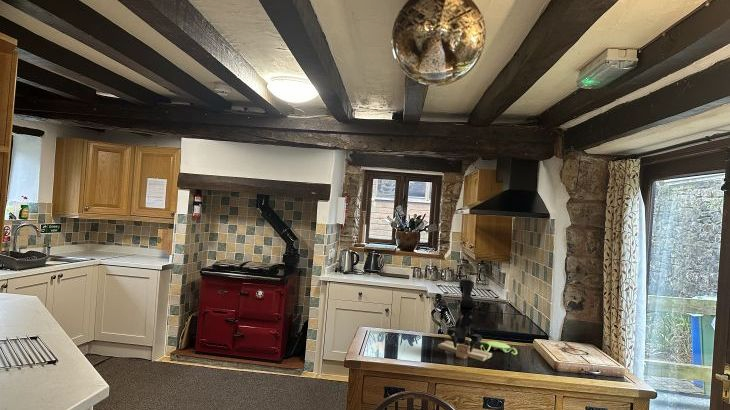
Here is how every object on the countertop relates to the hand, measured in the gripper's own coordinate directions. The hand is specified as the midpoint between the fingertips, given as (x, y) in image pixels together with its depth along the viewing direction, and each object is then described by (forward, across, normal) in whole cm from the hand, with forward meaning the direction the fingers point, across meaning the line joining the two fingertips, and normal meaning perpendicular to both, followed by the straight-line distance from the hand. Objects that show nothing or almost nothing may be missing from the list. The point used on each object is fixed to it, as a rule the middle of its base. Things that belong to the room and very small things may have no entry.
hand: (462, 350), depth 262 cm
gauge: (+4, 0, +5) cm, 6 cm away
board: (+4, -3, +9) cm, 10 cm away
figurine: (+4, +5, +29) cm, 29 cm away
